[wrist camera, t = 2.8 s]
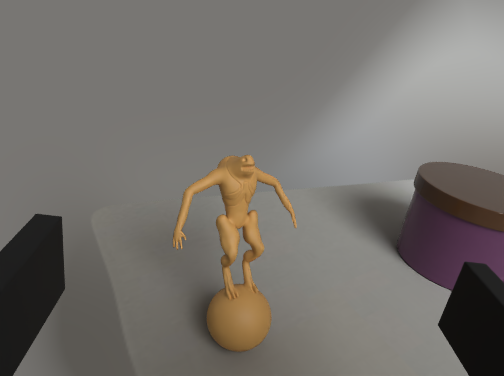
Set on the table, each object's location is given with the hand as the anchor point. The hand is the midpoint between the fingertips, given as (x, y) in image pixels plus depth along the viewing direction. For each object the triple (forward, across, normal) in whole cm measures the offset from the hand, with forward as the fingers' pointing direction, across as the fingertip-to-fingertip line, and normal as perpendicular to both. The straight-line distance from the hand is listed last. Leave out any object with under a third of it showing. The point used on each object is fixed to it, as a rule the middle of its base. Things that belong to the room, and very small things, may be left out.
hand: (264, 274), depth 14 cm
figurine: (+10, 0, -12) cm, 15 cm away
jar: (+22, +22, -12) cm, 33 cm away
